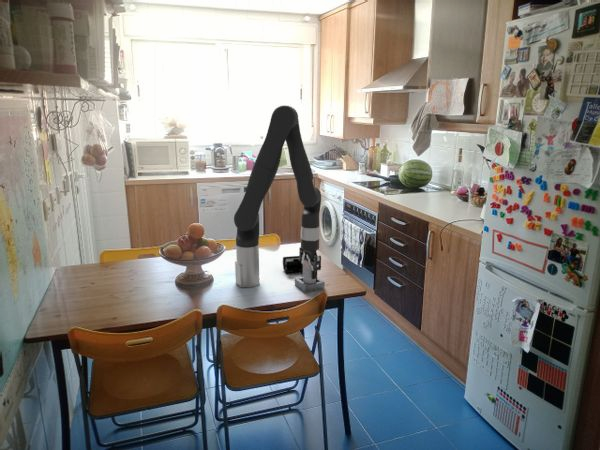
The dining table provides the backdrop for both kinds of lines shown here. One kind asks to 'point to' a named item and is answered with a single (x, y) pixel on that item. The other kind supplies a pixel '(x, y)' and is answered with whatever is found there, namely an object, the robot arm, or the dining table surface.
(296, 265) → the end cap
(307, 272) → the energy drink
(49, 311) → the dining table surface
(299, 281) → the metal collar
